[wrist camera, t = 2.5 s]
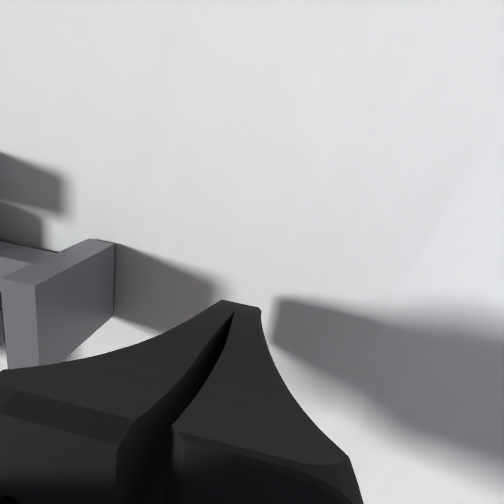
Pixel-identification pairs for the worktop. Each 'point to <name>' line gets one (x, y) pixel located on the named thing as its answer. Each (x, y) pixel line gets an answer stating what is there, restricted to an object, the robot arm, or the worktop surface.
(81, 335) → the grey hook
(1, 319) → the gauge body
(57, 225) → the worktop surface
